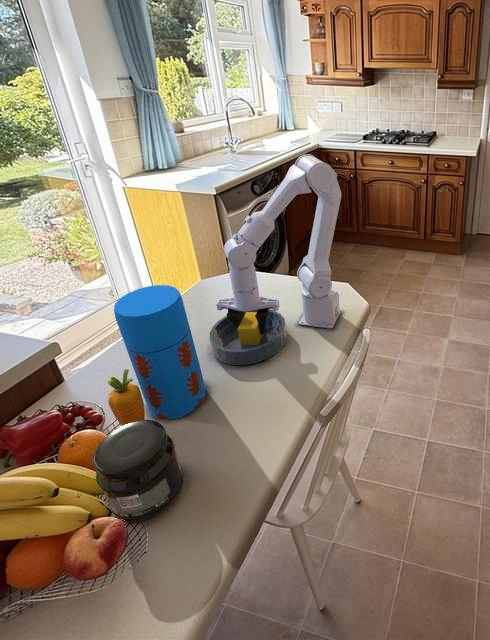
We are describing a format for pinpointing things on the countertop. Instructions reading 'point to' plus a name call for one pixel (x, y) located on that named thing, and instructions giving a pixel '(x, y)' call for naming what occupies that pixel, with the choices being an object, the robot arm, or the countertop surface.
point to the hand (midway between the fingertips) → (253, 332)
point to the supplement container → (138, 470)
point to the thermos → (161, 350)
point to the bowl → (234, 353)
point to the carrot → (126, 400)
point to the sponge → (249, 330)
